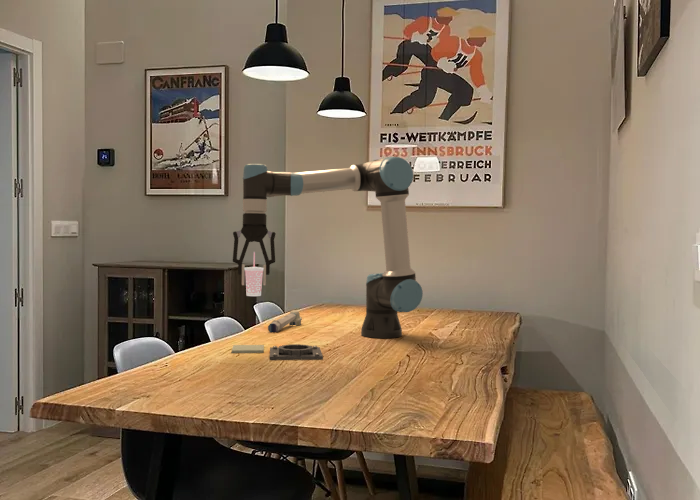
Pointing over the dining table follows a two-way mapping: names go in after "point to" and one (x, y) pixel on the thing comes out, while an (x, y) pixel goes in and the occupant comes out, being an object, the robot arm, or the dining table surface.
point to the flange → (295, 352)
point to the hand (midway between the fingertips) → (253, 284)
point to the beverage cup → (253, 279)
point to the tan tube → (285, 321)
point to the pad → (248, 349)
